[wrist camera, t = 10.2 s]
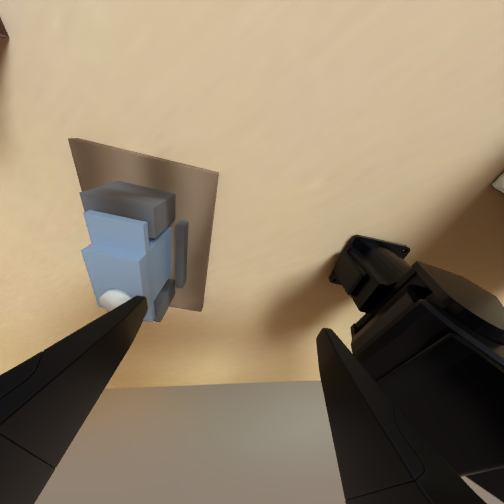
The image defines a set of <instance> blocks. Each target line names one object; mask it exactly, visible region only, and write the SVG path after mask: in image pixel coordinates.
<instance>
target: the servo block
mask: <svg viewBox="0 0 504 504" xmlns="http://www.w3.org/2000/svg"><path fill="white" fill-rule="evenodd" d="M84 217H85V221H86V224H87V228H88V232H89V235H90V239H91V243H92V244H90V245H89V246H87V247H86V248H84V249H82V250H81V252H82V255H83V259H84V262H85V265H86V268H87V271H88V274H89V278H90V281H91V284H92V287H93V290H94V294H95V297H96V300H97V303H98V306H99V307H103V308H105V309H106V310H108V311H111V310H113V309H114V308H116V307H118V306H119V305H121V304H123V303H125V302H126V301H128V300H130V299H131V298H133V297H135V296H137V295H140V296H145V297H146V298H147V304H148V311H147V313H146V316H145V318H144V320H143V321H146V322H153V320H154V319H155V310H154V300H155V298H156V297H157V295H158V294H159V292H160V291H161V289H162V288H163V286H164V284H165V283H166V281H167V280H168V278H169V277H170V275H171V273H172V243H171V228H170V227H167V228H166V229H165V230H164V231H163V232H162V233H160V234H159V235H158V236H157V237H156V238H150V237H149V235H148V223H147V222H145V221H140V220H135V219H131V218H126V217H121V216H116V215H112V214H107V213H102V212H97V211H93V210H89V211H86V212H84Z"/></svg>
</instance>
